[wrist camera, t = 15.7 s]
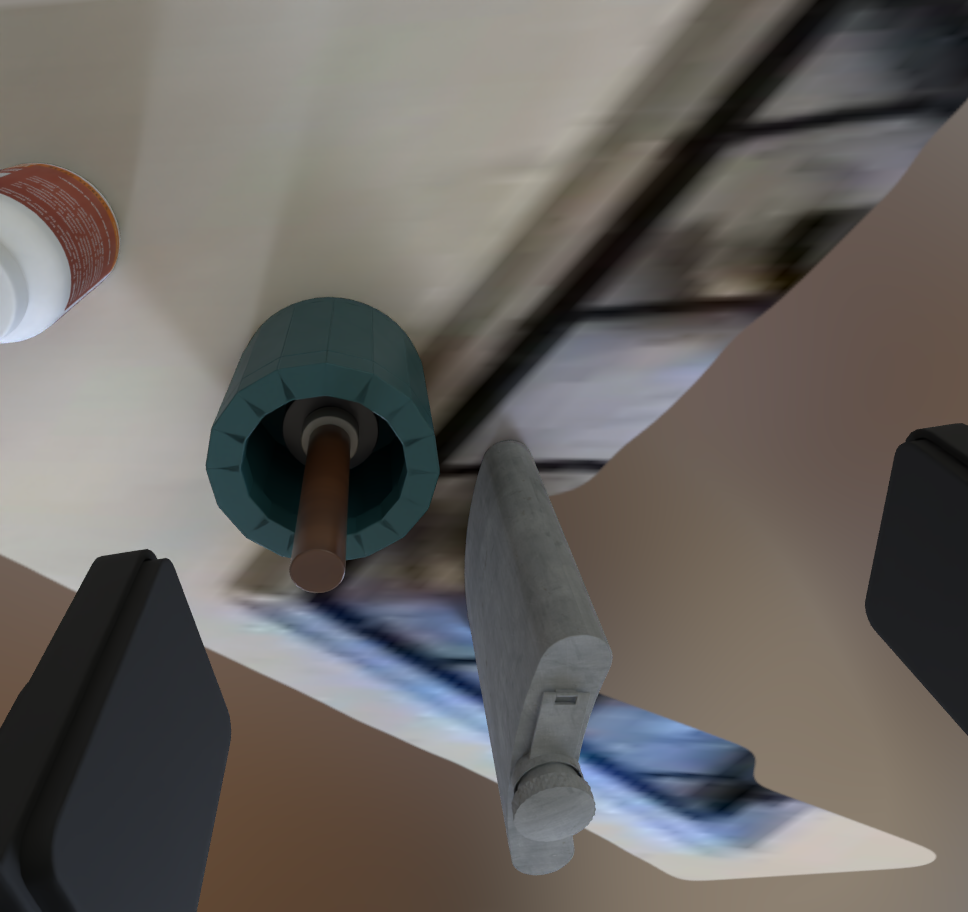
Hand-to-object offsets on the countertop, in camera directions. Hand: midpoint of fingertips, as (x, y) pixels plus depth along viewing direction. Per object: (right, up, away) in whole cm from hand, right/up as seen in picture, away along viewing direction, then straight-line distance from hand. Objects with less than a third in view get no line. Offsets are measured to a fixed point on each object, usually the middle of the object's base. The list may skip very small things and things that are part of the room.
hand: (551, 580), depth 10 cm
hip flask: (0, -4, +40) cm, 40 cm away
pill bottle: (-22, +13, +27) cm, 37 cm away
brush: (-9, +5, +32) cm, 34 cm away
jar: (-9, +6, +33) cm, 34 cm away
